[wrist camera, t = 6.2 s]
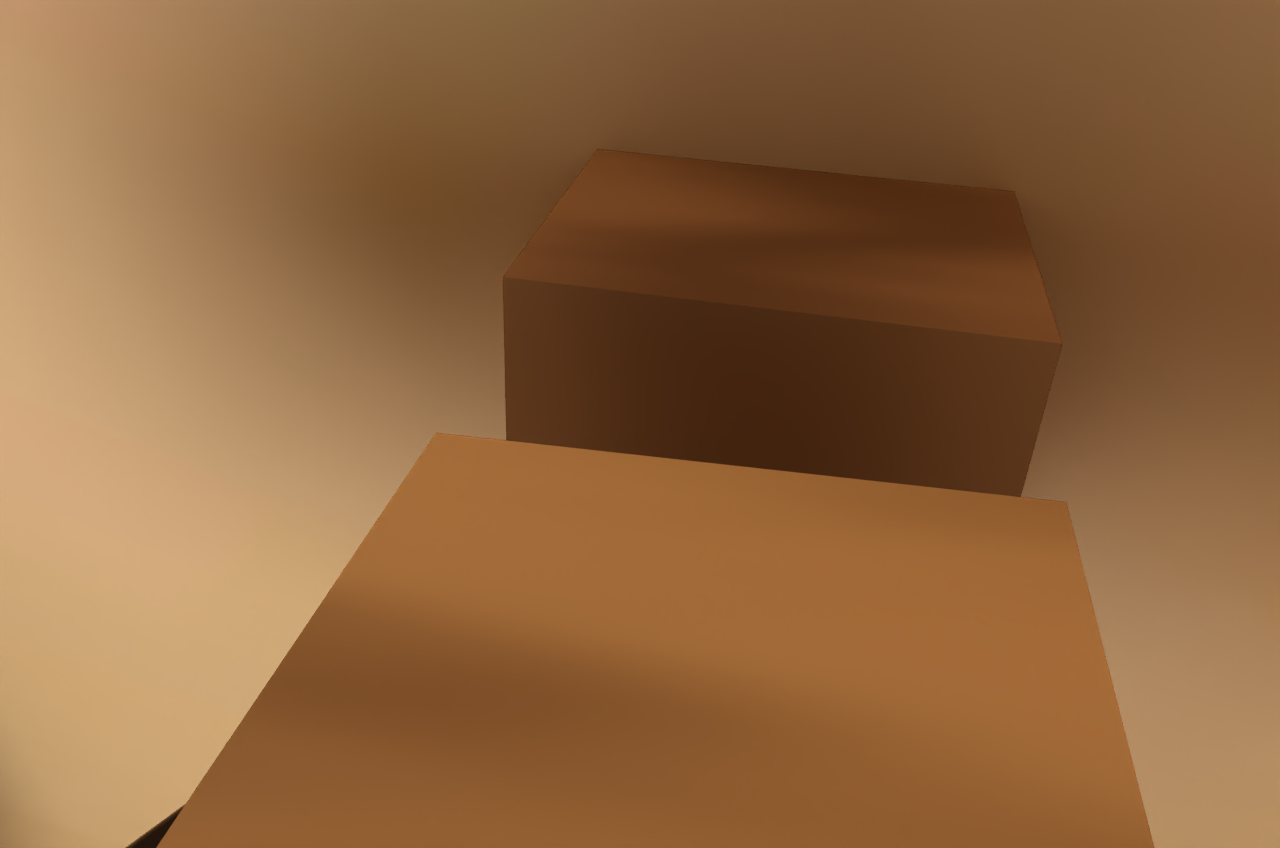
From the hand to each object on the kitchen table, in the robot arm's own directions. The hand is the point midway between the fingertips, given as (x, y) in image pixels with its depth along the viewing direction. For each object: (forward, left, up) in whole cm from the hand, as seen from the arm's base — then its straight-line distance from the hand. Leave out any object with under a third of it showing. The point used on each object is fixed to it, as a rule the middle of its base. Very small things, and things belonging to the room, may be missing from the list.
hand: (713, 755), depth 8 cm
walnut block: (0, 0, -7) cm, 7 cm away
